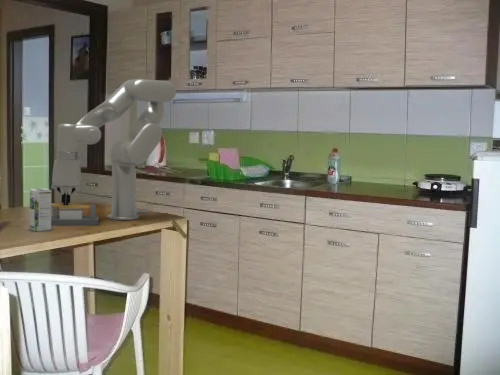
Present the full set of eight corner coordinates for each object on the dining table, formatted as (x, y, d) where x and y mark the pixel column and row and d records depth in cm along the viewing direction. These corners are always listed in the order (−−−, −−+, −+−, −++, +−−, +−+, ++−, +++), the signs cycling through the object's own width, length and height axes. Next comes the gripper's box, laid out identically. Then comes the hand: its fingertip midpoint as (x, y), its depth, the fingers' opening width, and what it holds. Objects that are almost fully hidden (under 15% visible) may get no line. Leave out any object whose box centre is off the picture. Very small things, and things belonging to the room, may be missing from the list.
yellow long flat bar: (94, 208, 208) (94, 205, 208) (94, 209, 205) (94, 206, 205) (52, 205, 204) (52, 202, 204) (51, 207, 201) (51, 203, 201)
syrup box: (28, 229, 190) (28, 188, 189) (45, 227, 194) (45, 187, 193) (35, 231, 186) (35, 190, 185) (52, 230, 190) (52, 189, 189)
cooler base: (98, 220, 213) (98, 202, 212) (98, 225, 203) (98, 206, 202) (50, 220, 208) (50, 202, 207) (47, 225, 198) (47, 206, 197)
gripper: (88, 157, 207) (86, 204, 209) (47, 155, 203) (45, 203, 205) (87, 158, 200) (86, 206, 202) (45, 156, 196) (43, 205, 198)
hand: (65, 204), depth 203 cm, fingers closed
